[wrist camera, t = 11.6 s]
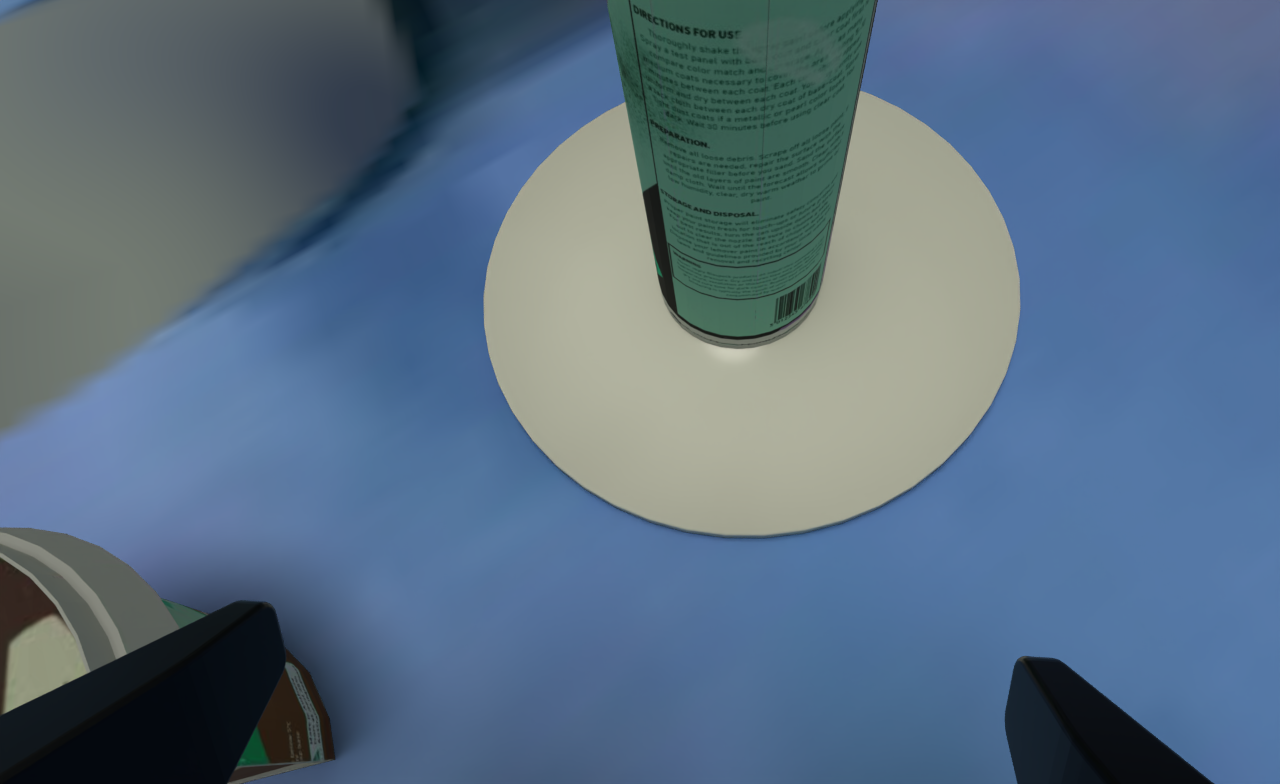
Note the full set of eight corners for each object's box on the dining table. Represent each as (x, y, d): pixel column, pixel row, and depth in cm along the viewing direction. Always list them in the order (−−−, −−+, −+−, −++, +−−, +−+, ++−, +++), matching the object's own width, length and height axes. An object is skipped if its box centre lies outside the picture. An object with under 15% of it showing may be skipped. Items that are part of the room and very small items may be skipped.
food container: (368, 542, 24) (146, 437, 15) (385, 747, 22) (131, 768, 13) (4, 636, 25) (-426, 589, 16) (-20, 850, 22) (-550, 943, 13)
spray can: (836, 225, 26) (1064, -902, 8) (802, 365, 24) (995, -681, 6) (684, 198, 27) (574, -833, 9) (640, 330, 26) (392, -633, 7)
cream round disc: (1135, 290, 25) (1144, 280, 24) (718, 667, 22) (717, 666, 21) (754, 14, 31) (754, 2, 31) (396, 274, 28) (390, 265, 28)
